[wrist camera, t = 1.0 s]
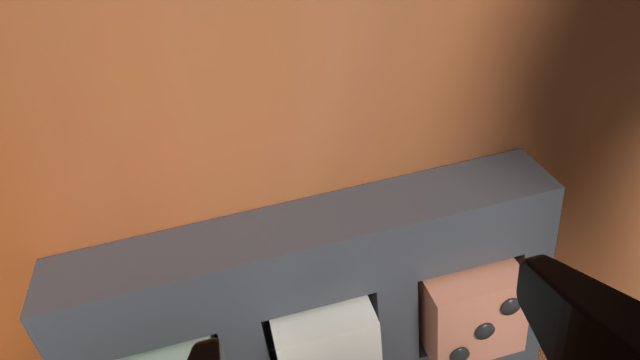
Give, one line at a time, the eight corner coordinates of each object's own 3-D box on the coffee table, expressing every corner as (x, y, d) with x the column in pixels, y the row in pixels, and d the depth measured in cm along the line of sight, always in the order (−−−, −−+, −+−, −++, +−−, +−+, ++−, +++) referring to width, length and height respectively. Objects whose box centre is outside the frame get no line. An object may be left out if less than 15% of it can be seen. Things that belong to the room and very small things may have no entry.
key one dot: (360, 278, 22) (380, 325, 20) (366, 343, 24) (385, 391, 22) (265, 302, 22) (276, 353, 19) (280, 366, 24) (291, 418, 22)
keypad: (521, 148, 23) (565, 187, 20) (504, 318, 28) (537, 365, 26) (37, 259, 20) (19, 319, 18) (121, 422, 26) (117, 486, 23)
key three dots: (502, 242, 23) (535, 284, 21) (496, 308, 25) (526, 352, 23) (413, 265, 22) (438, 310, 20) (415, 330, 24) (438, 377, 22)
